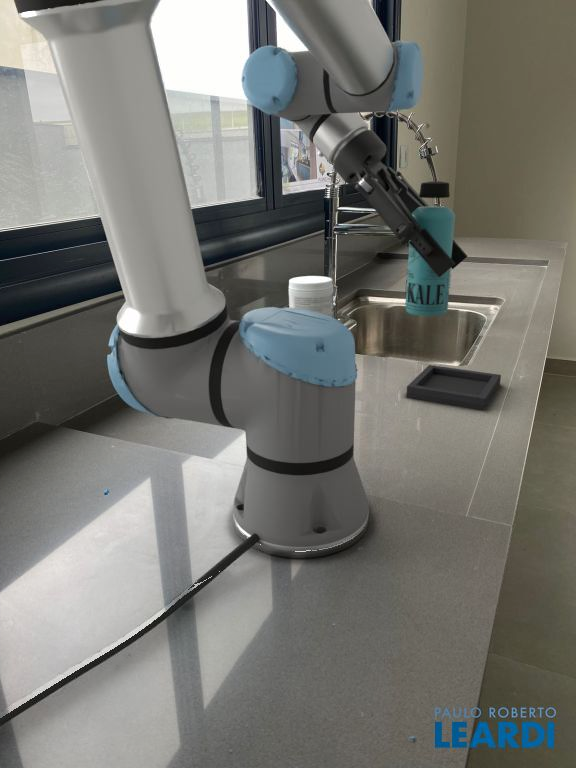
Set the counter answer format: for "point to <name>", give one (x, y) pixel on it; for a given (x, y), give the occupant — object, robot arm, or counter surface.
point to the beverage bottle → (422, 282)
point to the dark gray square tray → (454, 386)
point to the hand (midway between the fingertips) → (453, 266)
